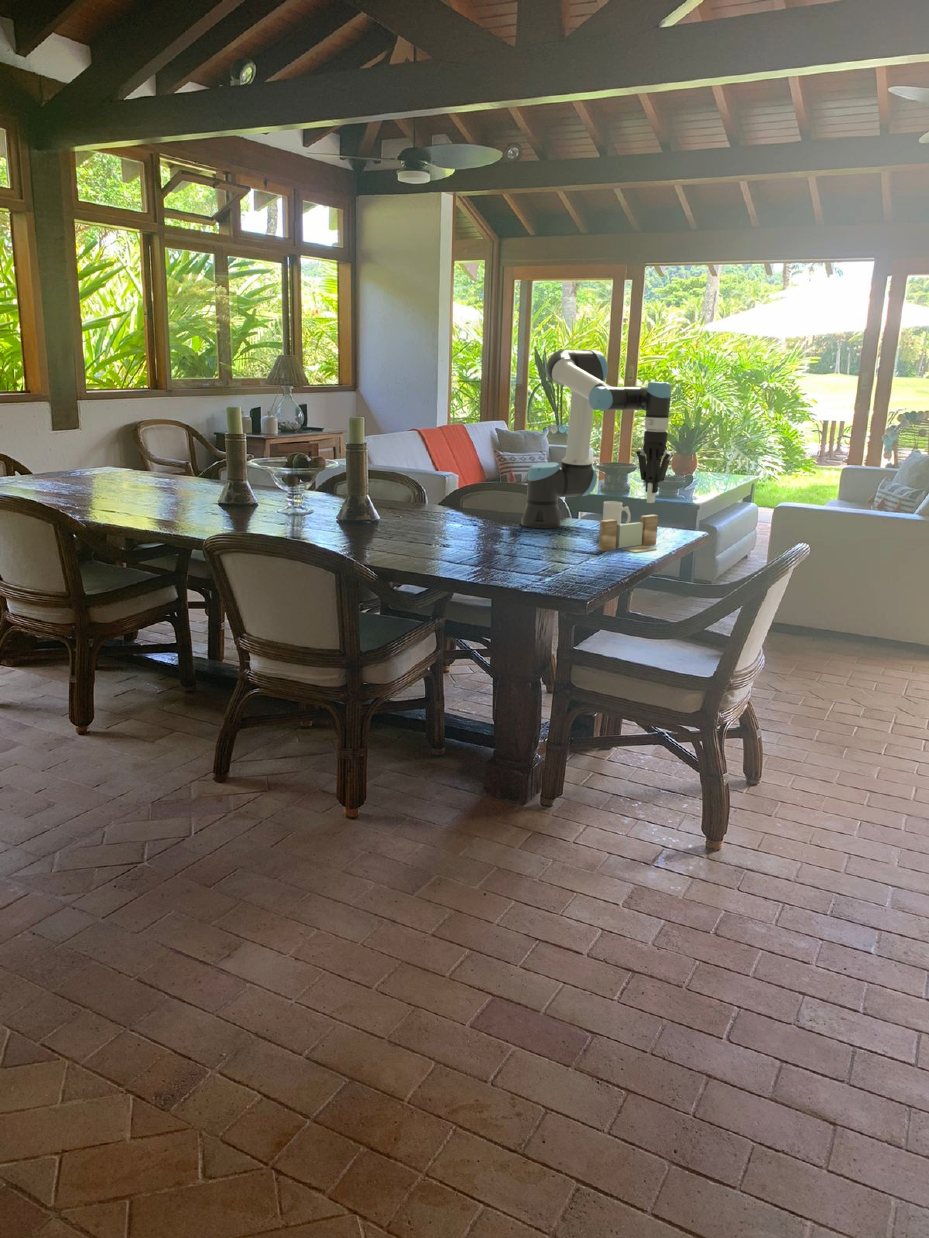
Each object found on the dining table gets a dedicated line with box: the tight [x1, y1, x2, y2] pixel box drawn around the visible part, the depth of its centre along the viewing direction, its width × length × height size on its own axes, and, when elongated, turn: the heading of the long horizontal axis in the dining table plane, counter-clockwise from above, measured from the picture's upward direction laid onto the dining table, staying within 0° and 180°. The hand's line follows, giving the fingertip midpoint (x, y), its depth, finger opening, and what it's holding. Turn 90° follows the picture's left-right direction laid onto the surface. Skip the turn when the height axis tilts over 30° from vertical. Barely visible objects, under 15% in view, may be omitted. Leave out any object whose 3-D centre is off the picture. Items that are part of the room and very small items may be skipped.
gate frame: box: [598, 514, 659, 554], centre depth 315 cm, size 10×25×10 cm, turn 125°
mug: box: [602, 500, 632, 525], centre depth 337 cm, size 10×7×12 cm, turn 72°
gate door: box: [615, 521, 643, 549], centre depth 318 cm, size 12×1×8 cm, turn 125°
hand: (650, 502), depth 310 cm, fingers closed
